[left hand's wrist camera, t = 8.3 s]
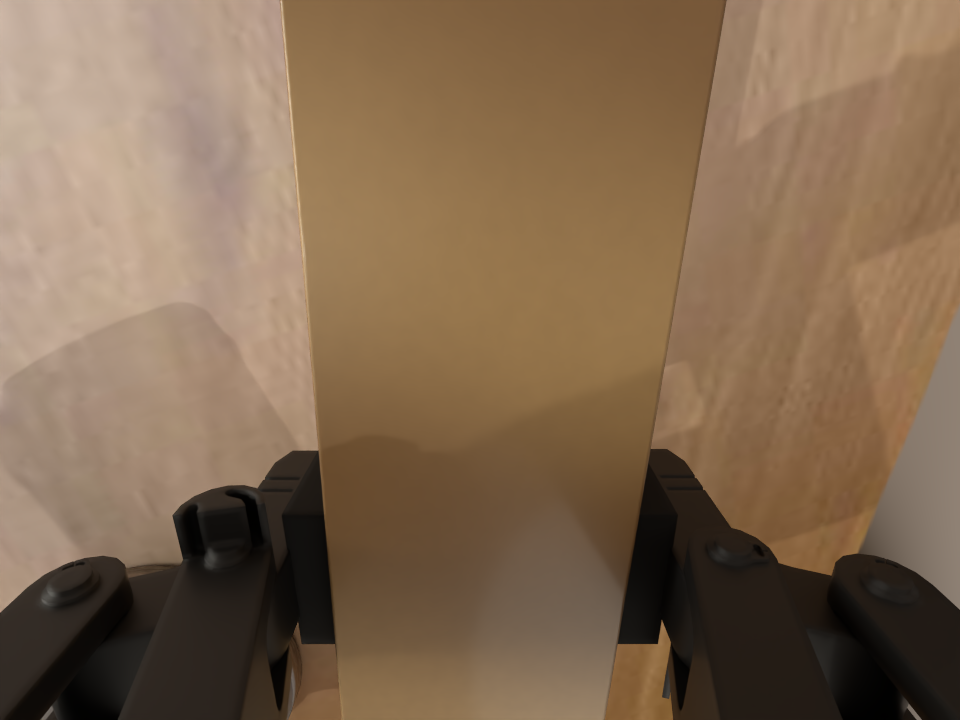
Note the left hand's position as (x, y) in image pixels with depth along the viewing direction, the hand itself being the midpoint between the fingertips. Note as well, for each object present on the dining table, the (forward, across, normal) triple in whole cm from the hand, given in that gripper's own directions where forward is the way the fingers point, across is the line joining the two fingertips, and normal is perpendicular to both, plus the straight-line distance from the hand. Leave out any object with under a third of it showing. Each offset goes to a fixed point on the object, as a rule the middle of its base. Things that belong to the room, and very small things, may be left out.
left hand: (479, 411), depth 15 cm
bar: (+1, -1, -32) cm, 32 cm away
